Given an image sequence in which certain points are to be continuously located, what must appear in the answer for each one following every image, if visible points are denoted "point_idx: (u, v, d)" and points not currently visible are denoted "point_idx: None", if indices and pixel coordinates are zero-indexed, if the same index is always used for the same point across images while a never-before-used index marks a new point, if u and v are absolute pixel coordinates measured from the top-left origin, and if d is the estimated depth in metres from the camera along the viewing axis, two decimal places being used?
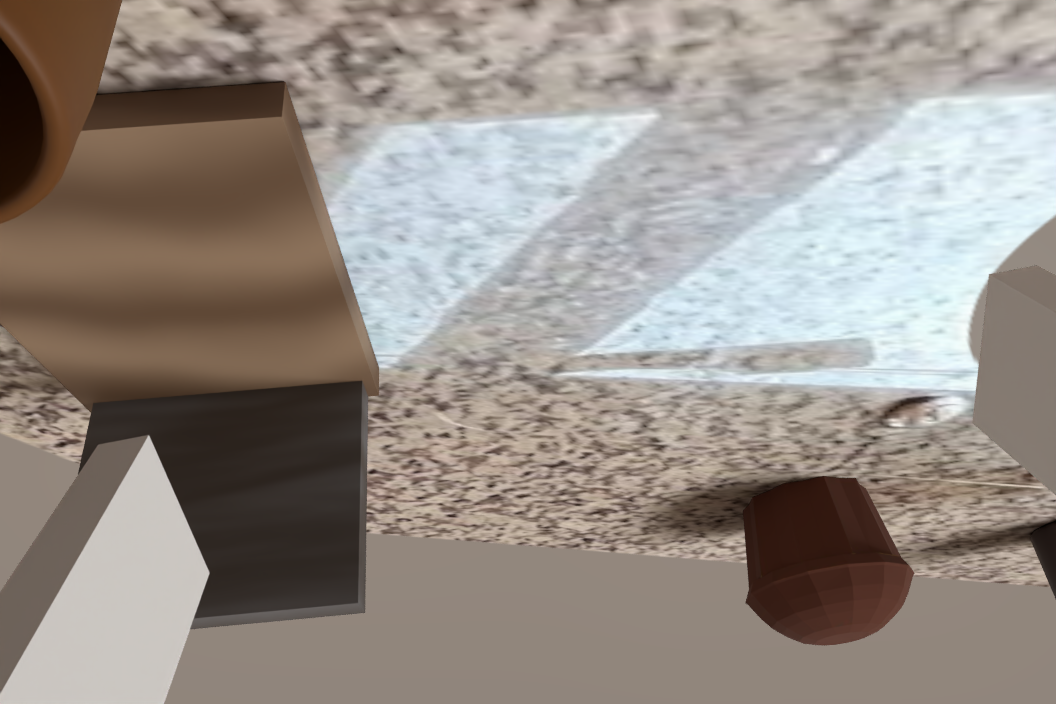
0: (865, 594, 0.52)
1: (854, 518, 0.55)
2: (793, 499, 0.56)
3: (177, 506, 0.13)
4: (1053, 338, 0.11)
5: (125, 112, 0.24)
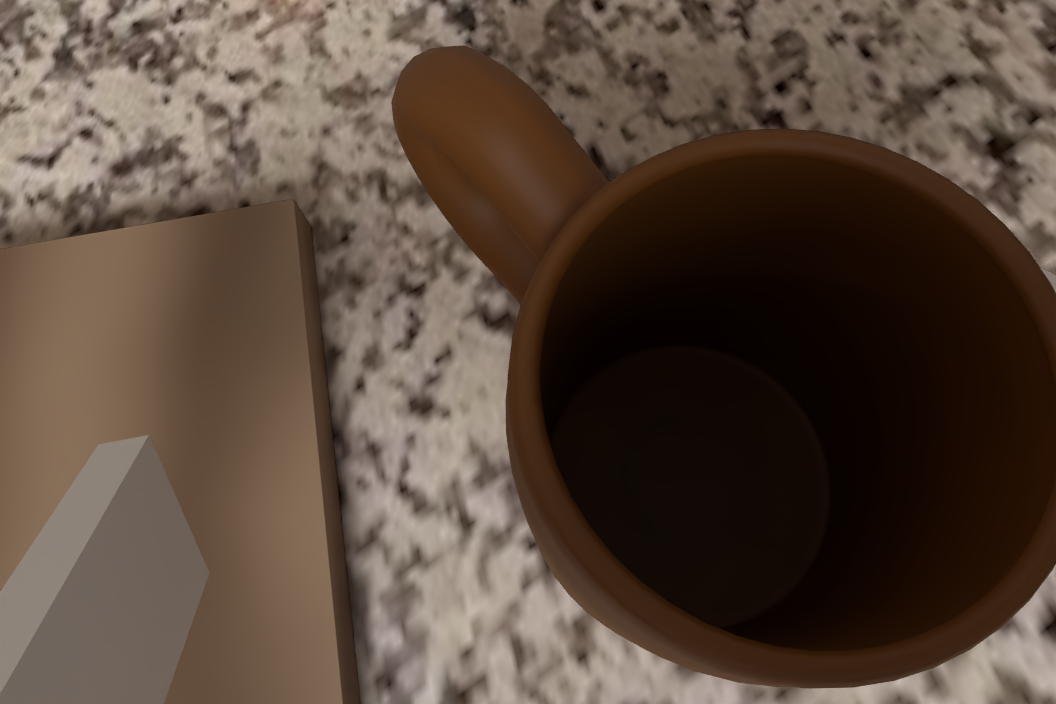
0: None
1: None
2: None
3: (177, 506, 0.13)
4: None
5: (334, 544, 0.18)
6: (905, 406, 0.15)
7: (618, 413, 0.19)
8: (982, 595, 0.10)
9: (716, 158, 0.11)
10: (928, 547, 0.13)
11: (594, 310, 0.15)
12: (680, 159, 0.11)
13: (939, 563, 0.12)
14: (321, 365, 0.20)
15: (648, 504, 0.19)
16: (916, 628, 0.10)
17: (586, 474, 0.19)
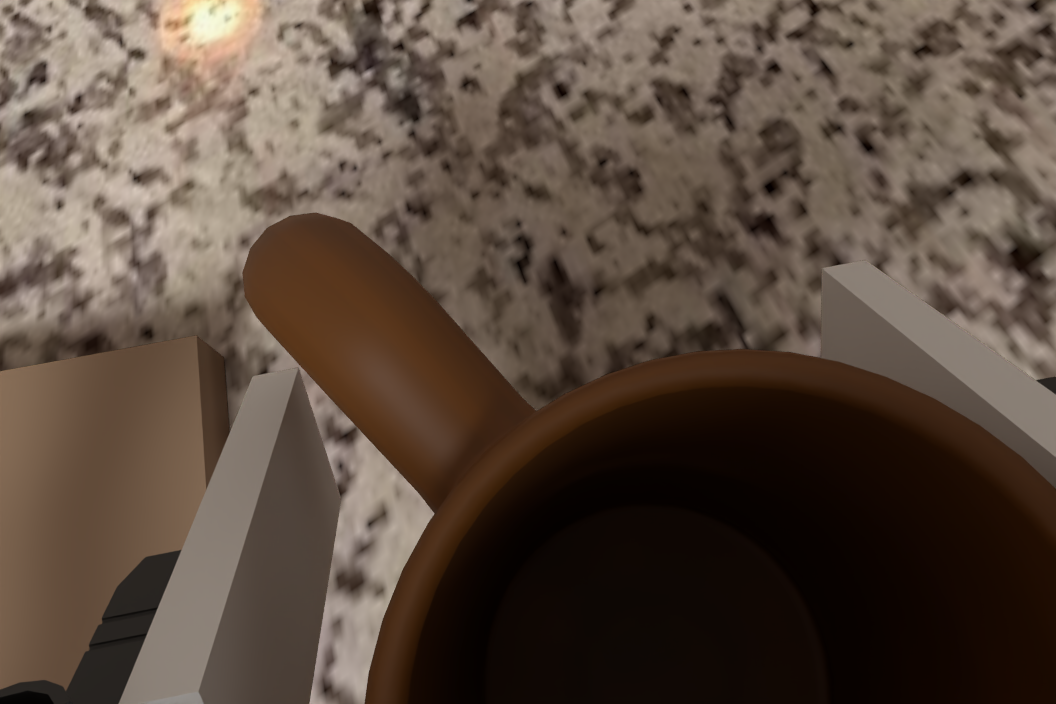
0: None
1: None
2: None
3: (317, 435, 0.14)
4: (863, 325, 0.12)
5: None
6: (920, 640, 0.11)
7: (572, 590, 0.16)
8: None
9: (657, 394, 0.08)
10: None
11: (522, 520, 0.12)
12: (606, 398, 0.08)
13: None
14: None
15: None
16: None
17: (533, 669, 0.16)
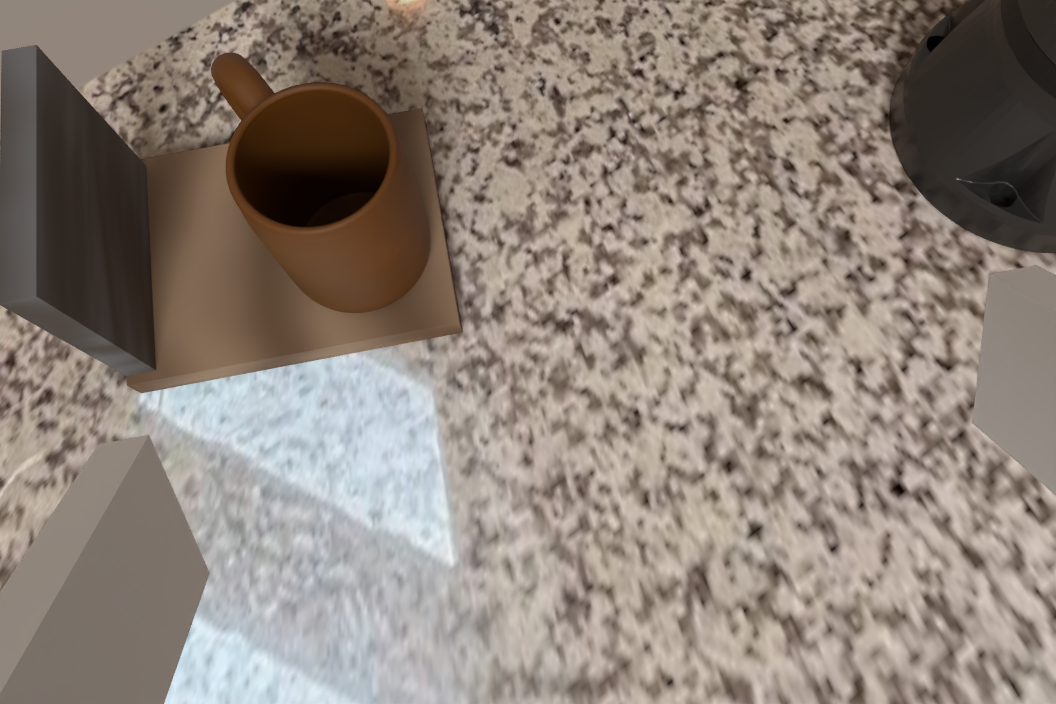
0: None
1: None
2: None
3: (176, 506, 0.13)
4: (1052, 337, 0.11)
5: (446, 247, 0.43)
6: None
7: (335, 220, 0.43)
8: None
9: (302, 91, 0.35)
10: None
11: (294, 156, 0.39)
12: (290, 91, 0.35)
13: None
14: (435, 180, 0.45)
15: None
16: None
17: None
